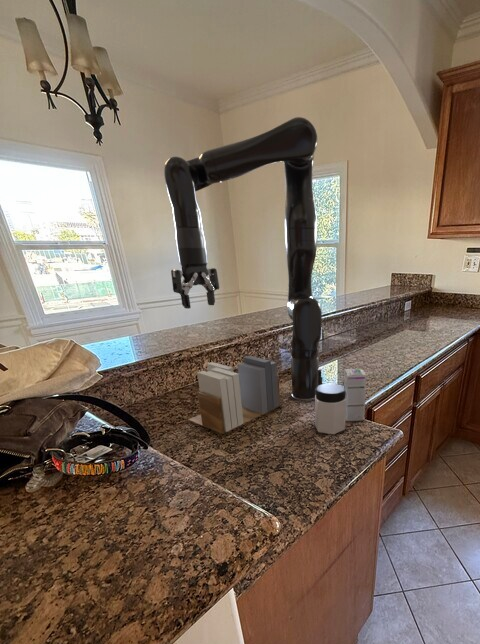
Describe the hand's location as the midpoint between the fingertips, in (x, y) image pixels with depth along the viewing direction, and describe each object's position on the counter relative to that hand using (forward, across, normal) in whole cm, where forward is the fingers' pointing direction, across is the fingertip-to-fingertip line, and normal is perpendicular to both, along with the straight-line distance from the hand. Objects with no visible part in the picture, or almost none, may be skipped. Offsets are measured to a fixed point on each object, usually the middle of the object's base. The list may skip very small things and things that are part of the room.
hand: (199, 306), depth 105 cm
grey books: (+29, +4, -19) cm, 35 cm away
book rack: (+30, -3, -16) cm, 34 cm away
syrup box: (+30, +16, -45) cm, 57 cm away
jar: (+30, +6, -44) cm, 53 cm away
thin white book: (+29, -6, -13) cm, 33 cm away
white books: (+29, -11, -19) cm, 36 cm away
